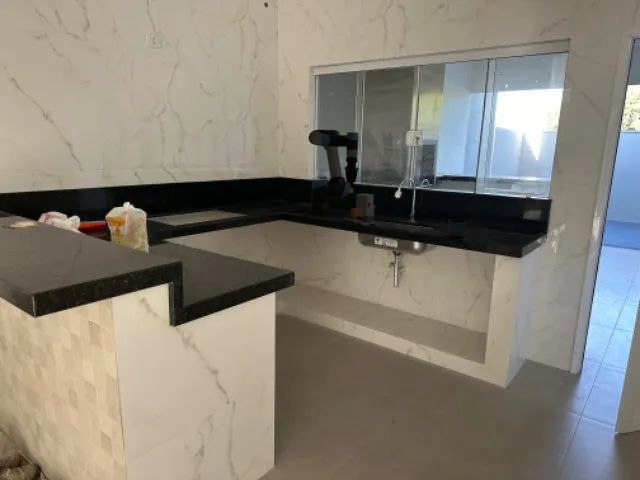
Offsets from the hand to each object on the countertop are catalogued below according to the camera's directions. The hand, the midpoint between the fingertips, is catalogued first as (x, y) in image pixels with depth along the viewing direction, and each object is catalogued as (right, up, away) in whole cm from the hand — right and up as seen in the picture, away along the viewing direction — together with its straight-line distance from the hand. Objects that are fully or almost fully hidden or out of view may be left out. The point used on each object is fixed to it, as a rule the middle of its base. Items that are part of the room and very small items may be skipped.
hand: (350, 192), depth 298 cm
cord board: (+6, -20, -7) cm, 22 cm away
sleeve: (+4, -17, -2) cm, 17 cm away
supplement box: (+11, -15, +17) cm, 25 cm away
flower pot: (+57, -30, -42) cm, 77 cm away
